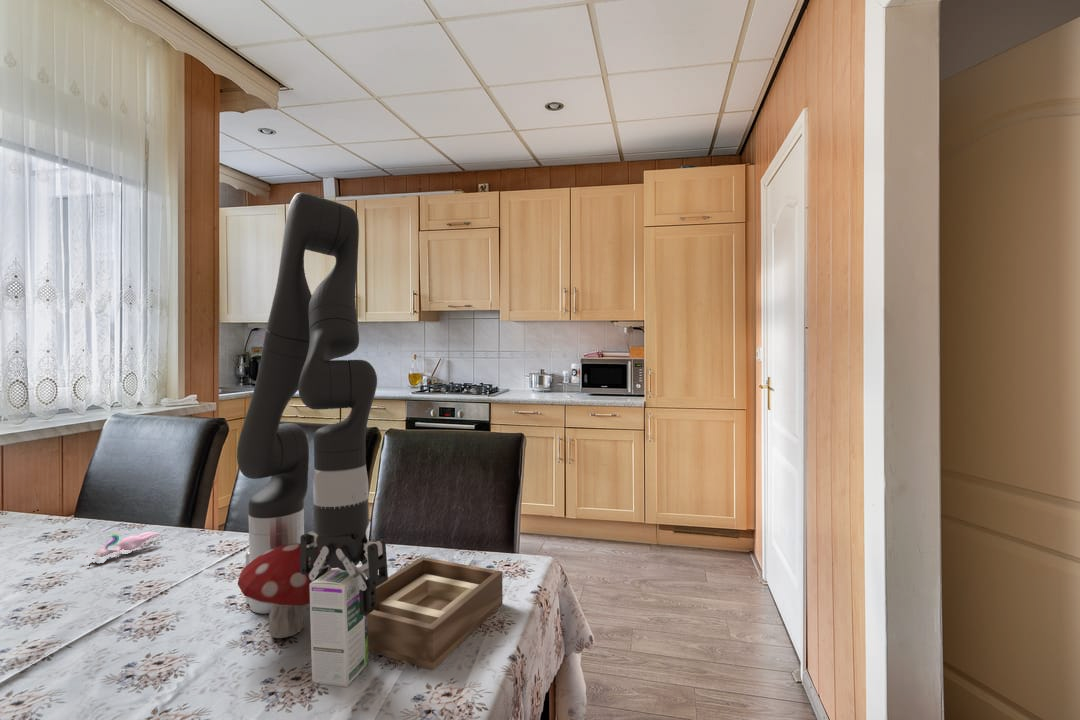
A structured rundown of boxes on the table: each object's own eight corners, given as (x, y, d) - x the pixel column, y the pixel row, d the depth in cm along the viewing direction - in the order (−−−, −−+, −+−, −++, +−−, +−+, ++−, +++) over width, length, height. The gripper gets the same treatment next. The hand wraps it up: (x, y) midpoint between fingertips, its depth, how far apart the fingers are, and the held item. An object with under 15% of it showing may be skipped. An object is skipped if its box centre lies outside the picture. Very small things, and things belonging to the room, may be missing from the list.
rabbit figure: (94, 575, 113) (167, 542, 127) (88, 550, 112) (162, 519, 126) (79, 570, 116) (152, 538, 129) (73, 545, 115) (148, 515, 128)
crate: (339, 643, 84) (339, 606, 84) (422, 586, 104) (422, 556, 104) (433, 669, 77) (432, 629, 77) (502, 603, 97) (502, 571, 97)
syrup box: (347, 688, 73) (346, 584, 73) (309, 683, 74) (308, 581, 74) (369, 664, 78) (368, 568, 78) (333, 659, 80) (332, 565, 79)
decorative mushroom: (333, 602, 98) (332, 522, 98) (355, 641, 85) (354, 549, 84) (234, 627, 89) (233, 540, 89) (242, 675, 76) (241, 572, 76)
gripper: (397, 494, 77) (400, 605, 77) (323, 487, 82) (325, 589, 82) (362, 509, 70) (364, 630, 70) (283, 499, 75) (286, 611, 75)
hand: (343, 608), depth 76 cm, fingers open, 8 cm apart
